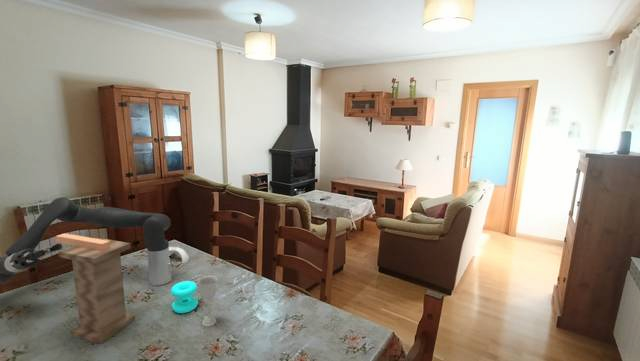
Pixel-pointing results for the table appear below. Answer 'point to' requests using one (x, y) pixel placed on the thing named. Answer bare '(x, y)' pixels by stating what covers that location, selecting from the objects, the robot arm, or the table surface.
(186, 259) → the white arch
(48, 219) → the robot arm
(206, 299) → the chalice
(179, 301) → the cyan spool
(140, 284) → the table surface
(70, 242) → the bar
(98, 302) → the stand
